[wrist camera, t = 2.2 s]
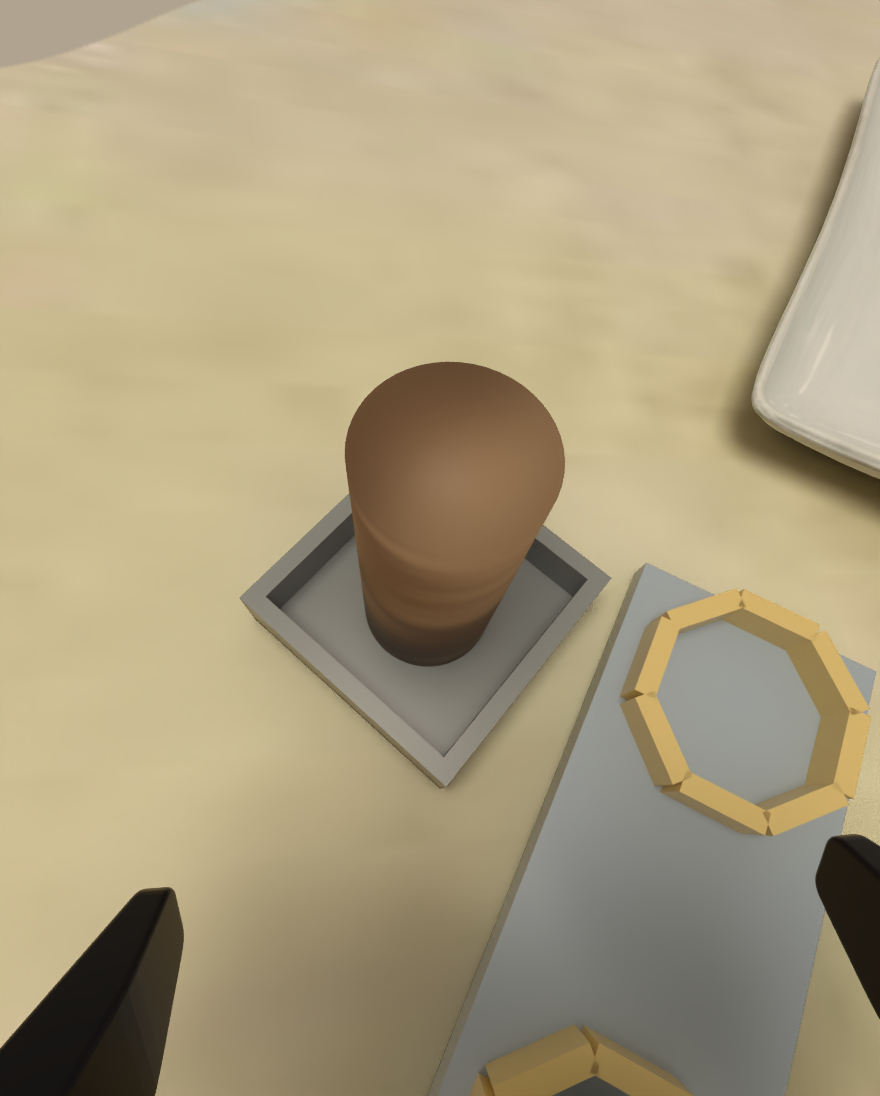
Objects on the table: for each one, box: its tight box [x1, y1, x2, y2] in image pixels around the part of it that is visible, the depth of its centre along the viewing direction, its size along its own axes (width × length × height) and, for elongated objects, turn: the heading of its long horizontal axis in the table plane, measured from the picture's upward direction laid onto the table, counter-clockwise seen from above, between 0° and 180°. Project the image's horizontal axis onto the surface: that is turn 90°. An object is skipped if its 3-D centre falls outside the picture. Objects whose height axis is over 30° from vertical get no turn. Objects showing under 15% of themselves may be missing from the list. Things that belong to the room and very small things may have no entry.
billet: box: [345, 362, 565, 667], centre depth 18 cm, size 5×5×11 cm
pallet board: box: [428, 563, 876, 1096], centre depth 19 cm, size 22×9×3 cm, turn 154°
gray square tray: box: [240, 494, 611, 788], centre depth 23 cm, size 9×9×2 cm
